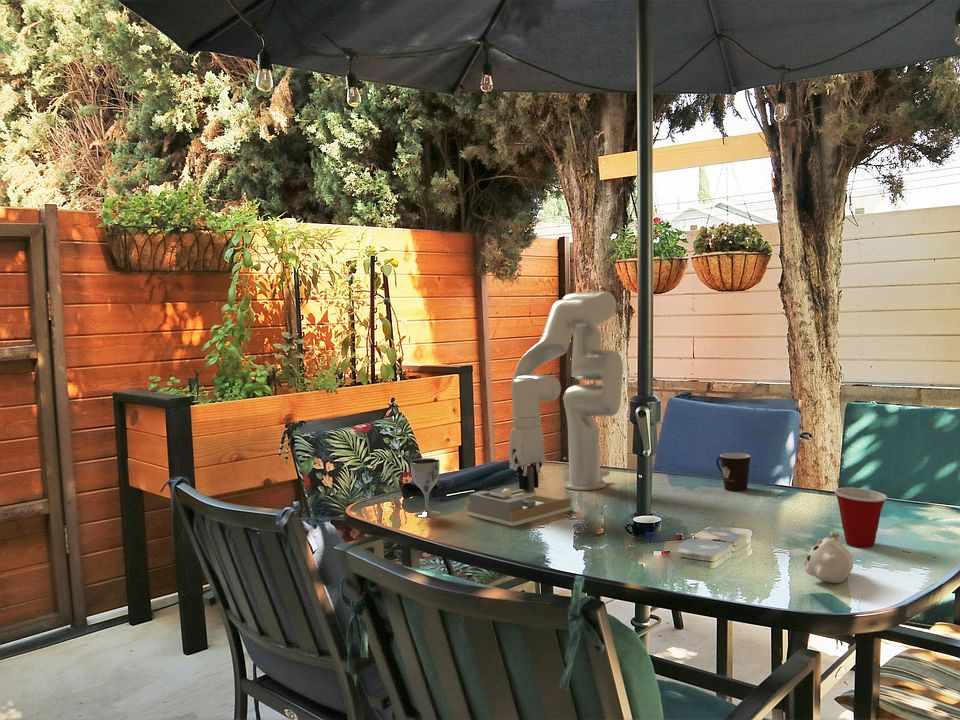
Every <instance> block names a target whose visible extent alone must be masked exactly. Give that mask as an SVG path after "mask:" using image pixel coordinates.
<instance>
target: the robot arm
mask: <svg viewBox="0 0 960 720" xmlns="http://www.w3.org/2000/svg"><path fill="white" fill-rule="evenodd" d="M616 309H617V300H616V298H615V296H614V295H613V294H612V293H611V292H609V291H605V290H603V291H602V290H599V291H582V292H581V291H579V292H571V293H567V294H565V295H564V296H563V297H562V299H559V300H557V301H554V303H552V305H551V307H550V310H549V313H548V315H547V319H546V322H545V325H544V328H543V331H542V334H541V337H540V340H539V341H537V343H535V344H534V345H533V346H532V347H531V348H529V350H527V351H526V353H524V354H523V355H522V356H521V358H520V359H519V361H518V362H517V364H516V367H515V370H514V372H513V376H512V378H511V383H510V391H511V402H512V428H511V429H510V434H509V440H508V441H509V442H508V443H509V444H508V461H509V468H510V469H511V470H513V471H514V472H515V473H516V475H517V476H518V487H519V490H521V489H522V490H529V478H528V476H526V475H527V465H532V466H534V489H538V488H539V487H540V486H539V474H540V473H541V468H542V466H544V464H545V463H546V461H547V458H546V453H545V452H546V450H545V449H546V447H545V438H544V433H543V427H542V426H541V421H542V417H541V408H540V407H541V406H540V405H541V404H540V402H541V403H542V402H547V403H549V402H552V401H555V400H556V399H557V398H558V397H559V396H560V394H561V391H562V384H561V382H560V380H559V379H558V378H557V377H555V376H554V375H551V374H534V372H535V371H536V370H537V369H538V368H539V367H541V366H542V365H545V364H546V363H548V362H550V361H552V360H553V361H554V359H557V358H559V357H562V356H563V355H565V354H566V353H567V352H568V350H569V347H570V343H571V341H572V342H573V343H572V354H571V355H572V356H571V375H572V376H573V378H574V379H577V380H579V381H592V382H593V381H595V382H597V381H598V382H599V381H600V382H602V384H574V385H571V386H569V387H568V388H567V389H566V390H565V391H564V393H563V407H564V410H565V414H566V422H567V439H568V440H567V442H568V444H567V445H568V470H569V471H568V472H569V473H568V476H569V479H568V480H565V482H564V487H565V488H566V489H570V490H577V491H578V490H579V491H592V490H593V491H594V490H598V489H602V488H605V487H606V481H605V480H603V478H605V477H608V476H610V473H611V472H610V471H609V470H608V469H604V470H602V469H601V459H600V457H601V456H600V431H599V427H598V424H597V422H596V420H595V419H594V417H604V418H605V417H606V418H608V417H614V416H616V415H617V414H618V412H619V410H620V406H621V399H622V398H621V397H622V386H623V375H624V373H623V370H624V368H623V367H624V366H623V365H624V363H623V360H622V357H621V355H620V354H619V353H618V352H617V351H615V350H612V349H601V343H602V334H601V332H600V329H599V327H598V325H600V324H602V323H604V322H606V321H608V320H610V319H611V318H612V317H613V316H614V314H615V312H616ZM572 337H573V339H572Z"/></svg>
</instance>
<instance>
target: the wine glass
mask: <svg viewBox="0 0 960 720" xmlns="http://www.w3.org/2000/svg"><path fill="white" fill-rule="evenodd" d="M440 466H441V463H440V459H438V458H433V457H430V458H428V457H427V458H417V459H412V460H411V461H410V472H411V476H412V477H411V478H412V480H413V482H414V483H415V485H416V486H417V487H418V488H419V489H420V490H421V492H422V493H423V497H424V502H425V503H424V504H425V510H423V511H419V512H416V513H414V517H416V518H420V519H423V518H424V519H429V518H430V519H431V518H436V517H439V516H440V515H441V512H440V511H436V510H435V511H434V510H430V508H429V497H430V492H431V491H432V490H433V488H434V486H435V485H436V484H437V483H438V479H439V477H440Z"/></svg>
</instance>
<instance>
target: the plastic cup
mask: <svg viewBox="0 0 960 720" xmlns="http://www.w3.org/2000/svg"><path fill="white" fill-rule="evenodd" d="M834 494H835V495H836V500H837V504H838V507H839V514H840V520H841V525H842V529H843V535H844V540H845V542H846V545H847V546H850V547H854V548H855V547H856V548H866V549H867V548H872V547H874V546H875V543H876V539H877V538H876V537H877V532H878V528H879V524H880V519H881V514H882V509H883V506H884V503H886V502H885V501H886V500H887V499H888V496H887V495H886V494H884V493H882V492H879V491H877V490H876V491H875V490H872V489H868V488H858V487H838V488H836V489H834Z"/></svg>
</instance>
